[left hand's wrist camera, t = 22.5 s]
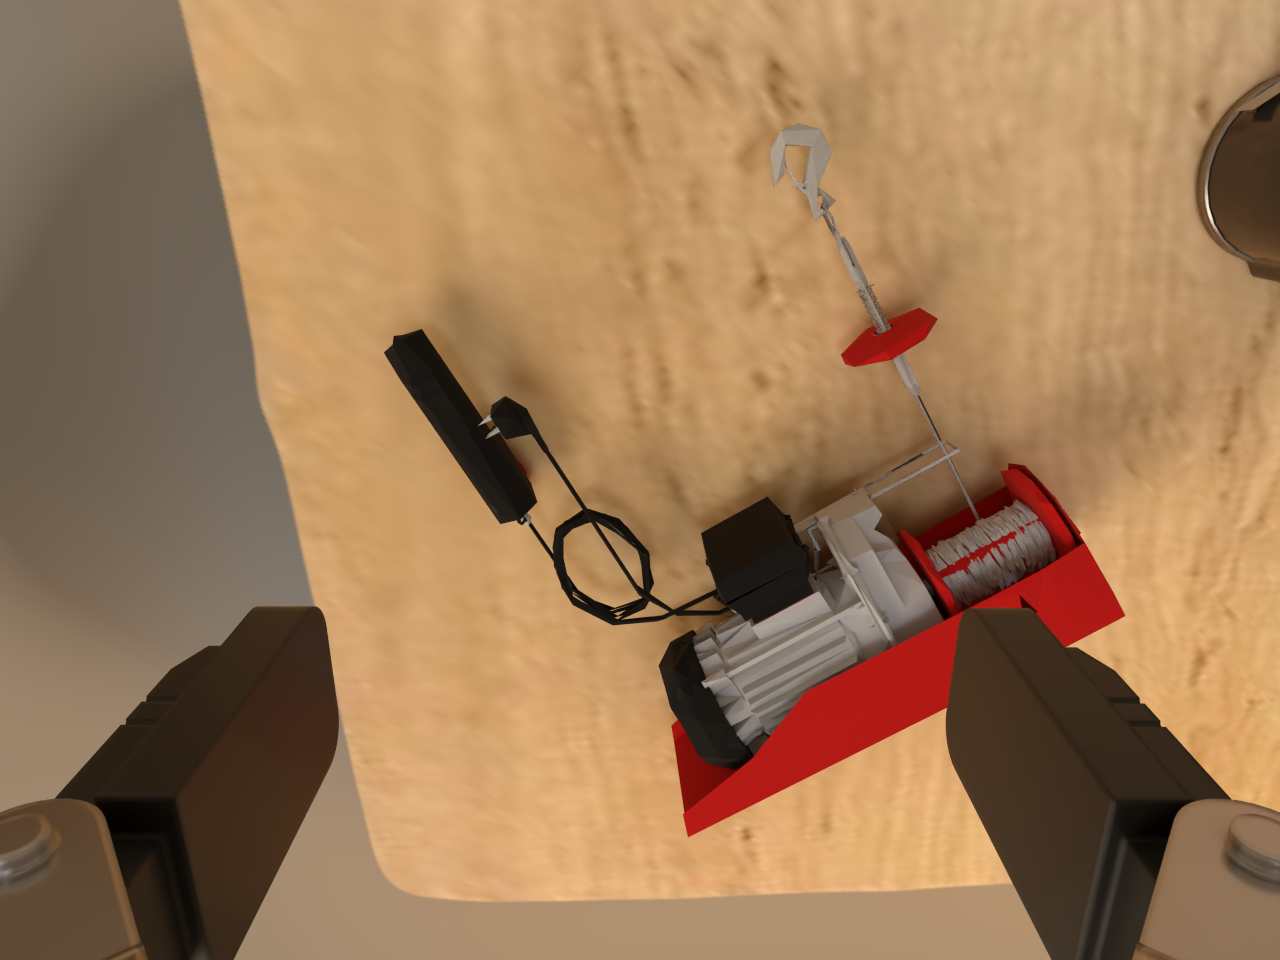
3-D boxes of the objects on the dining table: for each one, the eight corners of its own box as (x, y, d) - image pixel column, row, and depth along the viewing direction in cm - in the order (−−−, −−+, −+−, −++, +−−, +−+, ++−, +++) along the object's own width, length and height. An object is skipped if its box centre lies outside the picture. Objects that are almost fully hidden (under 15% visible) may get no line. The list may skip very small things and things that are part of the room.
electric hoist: (337, 376, 39) (676, 847, 48) (883, 37, 36) (1139, 613, 45) (389, 336, 49) (664, 736, 58) (823, 66, 45) (1044, 536, 54)
